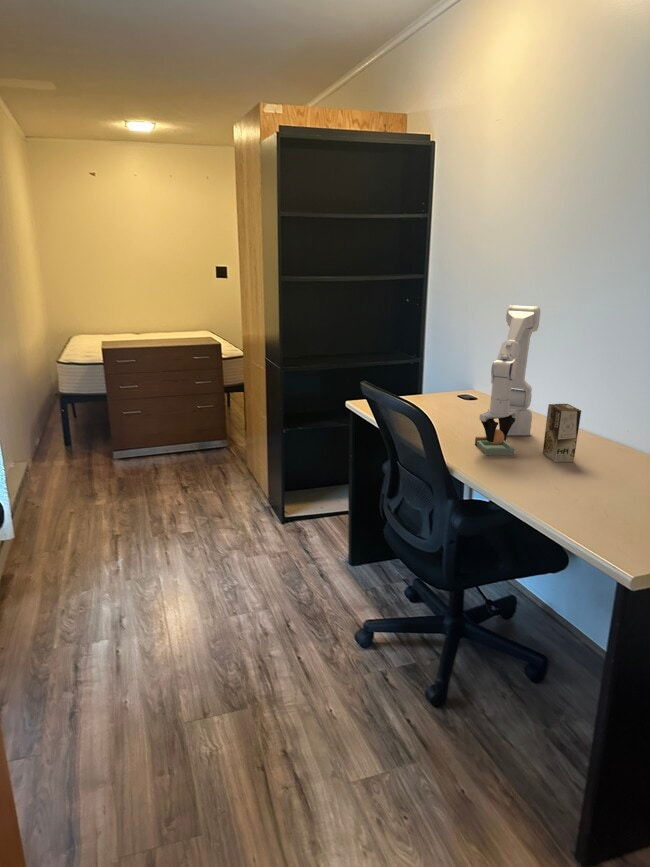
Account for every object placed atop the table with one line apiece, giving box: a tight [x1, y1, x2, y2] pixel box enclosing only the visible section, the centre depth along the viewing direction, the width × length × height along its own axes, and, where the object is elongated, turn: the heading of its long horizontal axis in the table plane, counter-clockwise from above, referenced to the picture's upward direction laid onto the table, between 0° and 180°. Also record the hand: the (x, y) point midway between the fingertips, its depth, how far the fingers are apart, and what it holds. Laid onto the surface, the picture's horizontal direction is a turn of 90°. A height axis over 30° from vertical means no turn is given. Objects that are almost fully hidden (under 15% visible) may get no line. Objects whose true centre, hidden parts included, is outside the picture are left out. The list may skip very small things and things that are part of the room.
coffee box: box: [542, 403, 582, 463], centre depth 181 cm, size 9×6×16 cm
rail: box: [474, 436, 508, 446], centre depth 194 cm, size 10×1×2 cm, turn 94°
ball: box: [490, 428, 504, 445], centre depth 188 cm, size 5×5×5 cm
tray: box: [476, 440, 515, 456], centre depth 189 cm, size 9×9×2 cm
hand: (496, 440), depth 188 cm, fingers closed on ball, 5 cm apart
